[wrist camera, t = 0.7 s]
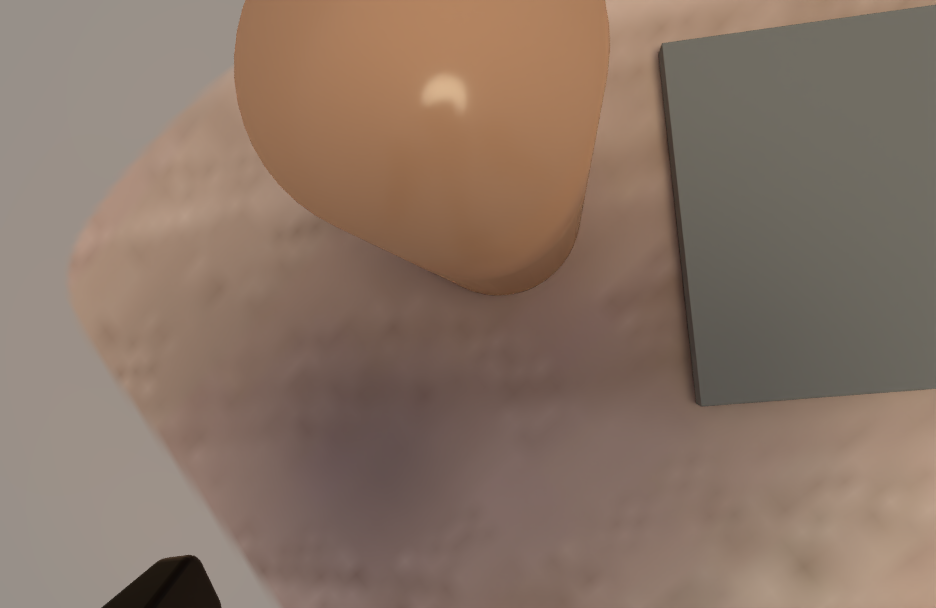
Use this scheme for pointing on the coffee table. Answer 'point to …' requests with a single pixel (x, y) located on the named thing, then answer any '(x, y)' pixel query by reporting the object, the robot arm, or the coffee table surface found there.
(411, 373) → the coffee table surface
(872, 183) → the slate mat
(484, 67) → the tan domed cylinder
